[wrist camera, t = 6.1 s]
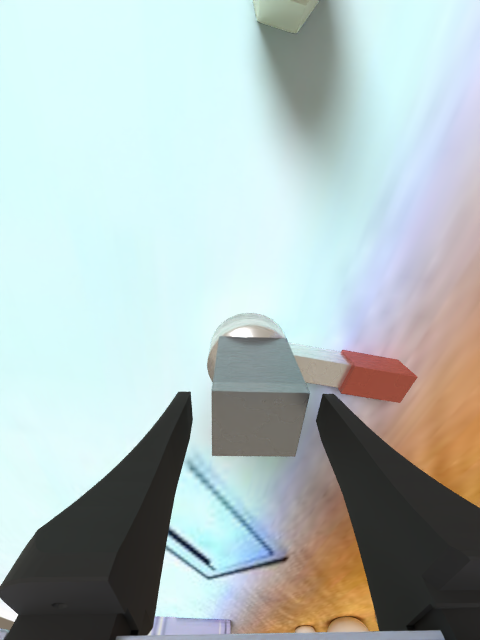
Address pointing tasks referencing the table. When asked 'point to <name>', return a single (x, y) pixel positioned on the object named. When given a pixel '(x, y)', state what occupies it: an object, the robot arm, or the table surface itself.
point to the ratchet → (325, 362)
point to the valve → (284, 13)
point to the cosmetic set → (339, 626)
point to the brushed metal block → (257, 398)
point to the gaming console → (189, 626)
